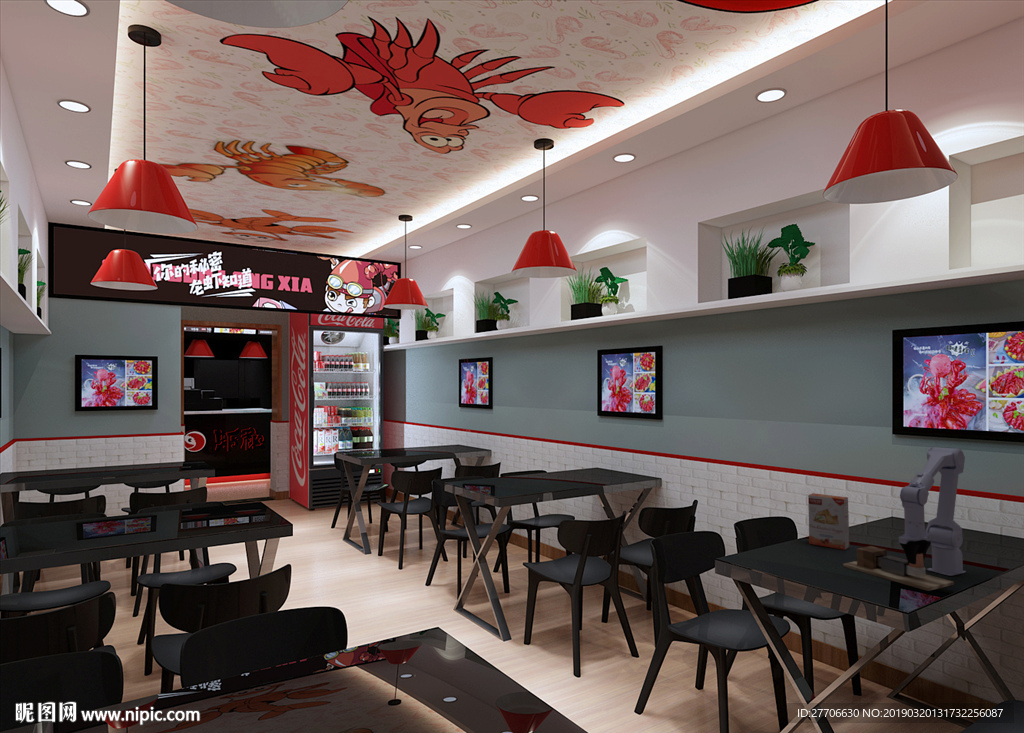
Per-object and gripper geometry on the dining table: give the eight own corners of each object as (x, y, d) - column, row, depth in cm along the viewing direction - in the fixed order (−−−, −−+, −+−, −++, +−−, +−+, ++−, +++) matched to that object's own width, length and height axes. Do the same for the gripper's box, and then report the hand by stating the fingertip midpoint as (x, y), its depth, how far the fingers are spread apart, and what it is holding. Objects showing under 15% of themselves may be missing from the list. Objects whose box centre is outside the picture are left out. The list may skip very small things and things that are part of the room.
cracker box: (808, 544, 253) (807, 494, 253) (813, 541, 257) (812, 492, 258) (845, 550, 243) (843, 498, 243) (849, 547, 247) (848, 496, 248)
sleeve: (889, 568, 215) (889, 555, 215) (912, 574, 208) (912, 560, 208) (881, 570, 213) (880, 556, 213) (904, 576, 206) (903, 562, 206)
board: (867, 561, 227) (867, 558, 227) (953, 584, 200) (953, 581, 200) (842, 566, 221) (842, 563, 221) (928, 591, 194) (928, 587, 194)
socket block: (871, 562, 223) (870, 545, 223) (887, 566, 218) (886, 549, 218) (857, 565, 220) (856, 548, 220) (872, 569, 214) (872, 552, 214)
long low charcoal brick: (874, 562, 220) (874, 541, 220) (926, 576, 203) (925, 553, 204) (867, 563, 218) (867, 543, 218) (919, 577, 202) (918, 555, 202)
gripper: (913, 526, 198) (914, 568, 198) (939, 522, 205) (941, 562, 204) (892, 522, 205) (893, 562, 204) (918, 518, 211) (919, 557, 210)
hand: (915, 562), depth 205 cm, fingers closed on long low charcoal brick, 4 cm apart
